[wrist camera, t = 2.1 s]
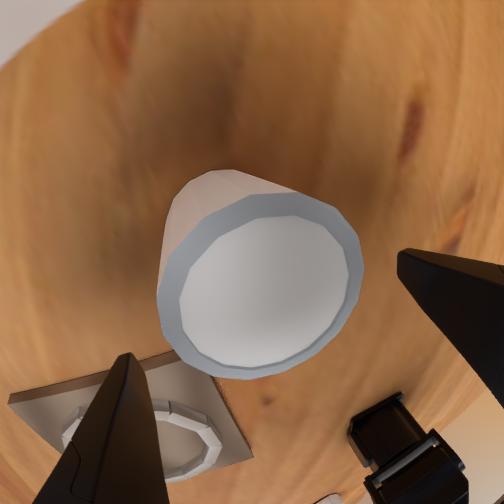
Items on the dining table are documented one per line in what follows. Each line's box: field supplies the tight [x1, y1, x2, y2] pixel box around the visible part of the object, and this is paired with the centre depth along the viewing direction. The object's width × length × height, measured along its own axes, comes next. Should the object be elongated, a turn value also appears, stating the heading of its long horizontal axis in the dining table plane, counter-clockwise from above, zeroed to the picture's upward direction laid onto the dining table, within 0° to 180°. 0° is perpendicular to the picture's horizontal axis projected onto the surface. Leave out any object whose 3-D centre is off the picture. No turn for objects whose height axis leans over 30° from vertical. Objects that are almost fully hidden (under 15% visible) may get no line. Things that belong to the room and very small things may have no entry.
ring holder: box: [7, 350, 254, 484], centre depth 20 cm, size 15×15×2 cm
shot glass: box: [156, 169, 365, 380], centre depth 13 cm, size 7×7×7 cm
